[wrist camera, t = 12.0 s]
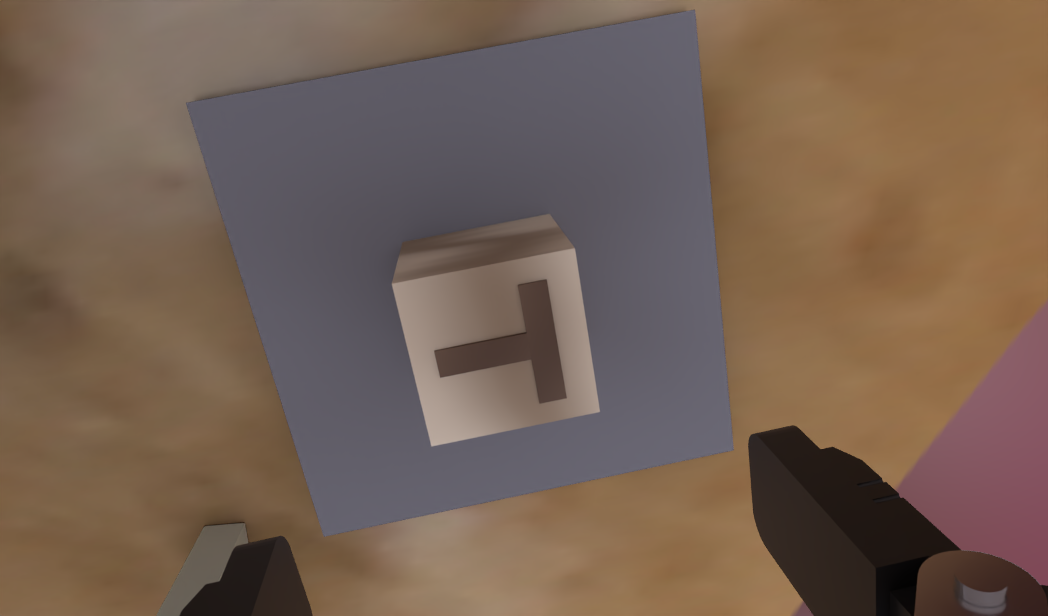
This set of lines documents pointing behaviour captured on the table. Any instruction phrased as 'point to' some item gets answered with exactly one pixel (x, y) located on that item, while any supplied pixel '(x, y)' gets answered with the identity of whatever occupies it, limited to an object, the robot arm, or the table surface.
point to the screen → (203, 564)
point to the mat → (465, 203)
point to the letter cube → (495, 328)
